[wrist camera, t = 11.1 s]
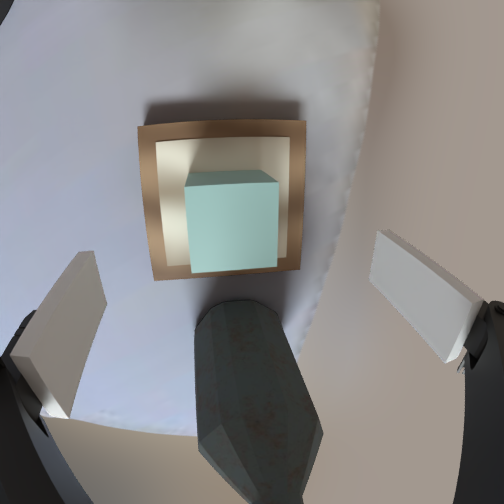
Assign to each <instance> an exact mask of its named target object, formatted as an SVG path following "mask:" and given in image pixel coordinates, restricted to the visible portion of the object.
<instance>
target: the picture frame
mask: <svg viewBox="0 0 504 504" xmlns="http://www.w3.org/2000/svg"><path fill="white" fill-rule="evenodd" d="M138 147H139V162H140V175H141V186H142V197H143V206H144V215H145V223H146V231H147V238H148V245H149V252H150V258H151V264H152V271H153V276H154V281H159V280H174V279H189V278H203V277H216V276H229V275H242V274H254V273H266V272H278V271H289V270H300V262H301V247H302V231H303V212H304V189H305V158H306V121H300V120H273V119H231V120H205V121H188V122H175V123H164V124H155V125H146V126H138ZM237 170H262V171H264V172H265V173H266V174H268V175H269V176H271V177H272V178H274V179H275V180H276V181H278V182H279V209H278V249H277V267H266V268H254V269H241V270H228V271H215V272H202V273H192V271H191V262H190V252H189V242H188V230H187V219H186V206H185V191H184V186H185V183H186V180H187V176H188V173H199V172H216V171H237Z"/></svg>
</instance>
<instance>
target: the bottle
mask: <svg viewBox="0 0 504 504" xmlns="http://www.w3.org/2000/svg"><path fill="white" fill-rule="evenodd" d="M194 359H195V394H196V416H197V434H198V449H199V452H200V453H201V454H202V455H203V457H204V458H205V459H206V460H207V461H208V462H209V463H210V465H211V466H212V467H214V469H215V470H216V471H217V472H218V473H219V474H220V475H221V476H222V478H224V480H225V481H226V482H227V483H228V484H229V485H230V486H231V487H232V488H233V489H234V490H235V491H236V492H237V493H238V494H239V495H240V496H241V497H242V498H243V499H245V500H246V501H247V502H248V503H249V504H304V503H303V498H302V495H303V493H304V490H305V487H306V484H307V482H308V479H309V476H310V473H311V470H312V467H313V465H314V462H315V458H316V456H317V453H318V449H319V446H320V443H321V440H322V436H323V430H322V427H321V424H320V421H319V417H318V415H317V412H316V410H315V407H314V405H313V402H312V400H311V398H310V395H309V392H308V390H307V388H306V385H305V383H304V380H303V378H302V375H301V373H300V370H299V368H298V365H297V363H296V360H295V358H294V355H293V353H292V350H291V348H290V345H289V343H288V341H287V338H286V336H285V333H284V331H283V328H282V326H281V323H280V321H279V318H278V316H277V313H276V312H274V311H272V310H270V309H268V308H267V307H265V306H263V305H261V304H259V303H257V302H255V301H253V300H244V301H231V302H223V303H221V304H219V305H217V306H215V307H213V308H212V309H210V310H209V312H208V313H207V314H206V316H205V317H204V318H203V320H202V321H201V322H200V324H199V325H198V326H197V328H196V329H195V336H194Z"/></svg>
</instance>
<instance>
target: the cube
mask: <svg viewBox="0 0 504 504" xmlns="http://www.w3.org/2000/svg"><path fill="white" fill-rule="evenodd" d="M184 191H185V206H186V219H187V230H188V242H189V252H190V262H191V271H192V273H202V272H215V271H228V270H241V269H254V268H266V267H277V249H278V209H279V182H278V181H276V180H275V179H274V178H272V177H271V176H269V175H268V174H266V173H265V172H264V171H262V170H237V171H216V172H199V173H188V176H187V180H186V183H185V186H184Z"/></svg>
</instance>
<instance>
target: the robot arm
mask: <svg viewBox="0 0 504 504" xmlns="http://www.w3.org/2000/svg"><path fill="white" fill-rule="evenodd" d="M12 2H13V0H0V24H1V22H2V21H3V19H4V17H5V16H6V14H7V12H8V10H9V8H10V6H11V4H12ZM369 281H370V282H371V283H372V284H373V285H374V286H375V287H376V288H377V289H378V290H379V291H380V292H381V293H382V294H383V295H384V296H385V297H386V298H387V299H388V301H389V302H390V303H391V304H392V305H393V306H394V307H395V308H396V309H397V310H398V311H399V312H400V313H401V314H402V316H403V317H404V318H405V319H406V320H407V321H408V322H409V323H410V324H411V325H412V326H413V328H414V329H415V330H416V331H417V332H418V333H419V334H420V336H421V337H422V338H423V339H424V340H425V341H426V342H427V343H428V345H429V346H430V347H431V348H432V349H433V350H434V351H435V353H436V354H437V355H438V356H439V357H440V358H441V360H442V361H443V362H444V363H447V362H449V361H452V360H454V359H456V358H457V357H458V355H459V354H460V351H461V349H462V348H463V346H464V347H465V348H466V349H467V353H466V355H465V356H464V358H463V360H462V362H461V364H460V366H459V367H458V369H457V373H459V372H460V370H461V368H462V367H465V369H464V371H463V372H462V374H465V418H464V433H463V434H464V435H463V445H462V454H461V462H460V469H459V476H458V481H457V486H456V492H455V497H454V501H453V504H504V303H502V302H499V301H491V302H490V303H489V304H488V303H487V302H486V301H484V299H483V298H482V297H480V296H479V295H478V294H477V293H475V292H474V291H473V290H472V289H470V288H469V287H468V286H467V285H465V284H464V283H463V282H462V281H460V280H459V279H458V278H456V277H455V276H454V275H452V274H451V273H450V272H448V271H447V270H446V269H445V268H443V267H442V266H440V265H439V264H438V263H436V262H435V261H434V260H432V259H431V258H430V257H428V256H427V255H425V254H424V253H423V252H421V251H420V250H418V249H417V248H415V247H414V246H413V245H411V244H410V243H408V242H407V241H405V240H404V239H402V238H401V237H400V236H398V235H397V234H395V233H394V232H392V231H391V230H378V231H377V236H376V242H375V248H374V254H373V259H372V265H371V270H370V275H369ZM106 306H107V301H106V298H105V294H104V291H103V287H102V283H101V280H100V276H99V272H98V268H97V264H96V259H95V255H94V251H83V252H78V253H77V255H76V256H75V257H74V259H73V260H72V261H71V262H70V264H69V265H68V266H67V268H66V269H65V270H64V272H63V273H62V274H61V276H60V277H59V279H58V280H57V281H56V283H55V284H54V286H53V287H52V288H51V290H50V291H49V293H48V294H47V296H46V297H45V299H44V300H43V302H42V303H41V305H40V306H39V308H38V309H37V310H33V311H32V312H31V313H30V314H29V315H28V316H26V317H25V318H24V320H23V321H22V323H21V325H20V326H19V329H17V331H16V332H15V334H14V335H15V336H13V337H12V339H11V341H10V342H9V344H8V346H7V347H6V349H5V351H4V353H3V354H2V356H1V357H0V504H94V503H93V502H92V501H91V499H90V498H89V496H88V495H87V494H86V492H85V491H84V489H83V488H82V486H81V485H80V483H79V482H78V480H77V479H76V477H75V476H74V474H73V473H72V471H71V469H70V468H69V466H68V464H67V463H66V461H65V459H64V457H63V456H62V454H61V452H60V451H59V449H58V447H57V445H56V443H55V441H54V439H53V437H52V435H51V433H50V432H49V429H48V428H47V425H46V423H45V421H44V420H43V418H42V417H41V416H40V411H41V408H42V406H43V407H44V408H45V410H46V411H47V412H48V414H49V415H50V416H52V417H58V418H66V419H69V418H70V414H71V410H72V406H73V403H74V399H75V396H76V392H77V389H78V385H79V382H80V379H81V376H82V372H83V369H84V366H85V363H86V360H87V357H88V354H89V351H90V348H91V346H92V343H93V340H94V337H95V334H96V332H97V329H98V326H99V324H100V321H101V318H102V316H103V313H104V311H105V308H106Z"/></svg>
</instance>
